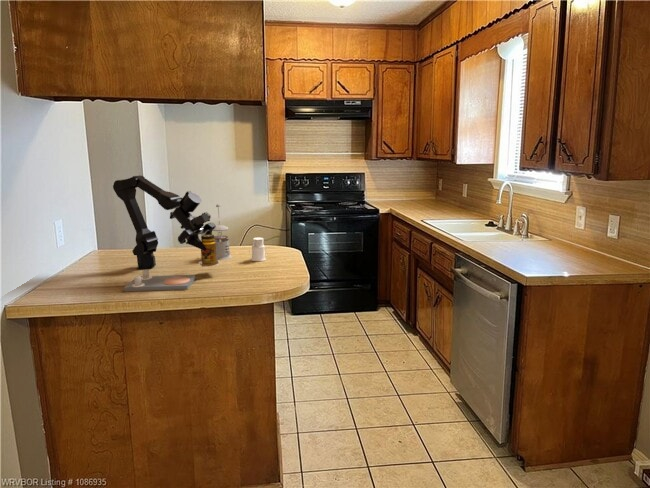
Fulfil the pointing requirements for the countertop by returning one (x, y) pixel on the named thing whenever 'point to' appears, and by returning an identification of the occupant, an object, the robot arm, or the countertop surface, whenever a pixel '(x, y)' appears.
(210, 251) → the condiment
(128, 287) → the board
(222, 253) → the french press
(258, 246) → the downlight
